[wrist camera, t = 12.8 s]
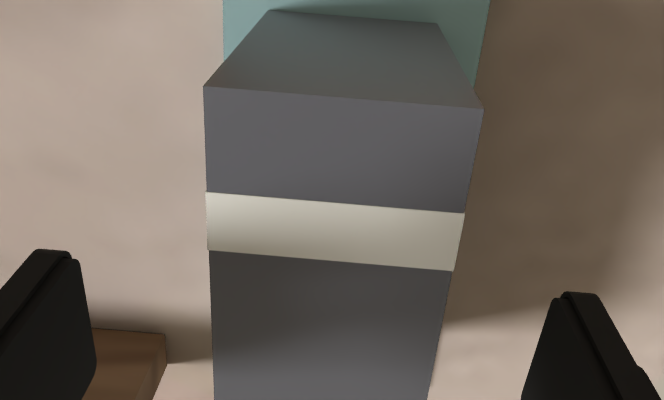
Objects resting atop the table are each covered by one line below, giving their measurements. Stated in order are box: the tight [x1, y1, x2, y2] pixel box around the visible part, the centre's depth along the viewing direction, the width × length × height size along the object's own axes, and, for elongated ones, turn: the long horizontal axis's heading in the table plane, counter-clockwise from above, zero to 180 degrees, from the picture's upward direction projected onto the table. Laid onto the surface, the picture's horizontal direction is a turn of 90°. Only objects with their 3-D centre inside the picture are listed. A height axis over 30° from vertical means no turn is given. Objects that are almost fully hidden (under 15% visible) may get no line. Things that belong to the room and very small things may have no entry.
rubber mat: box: [223, 0, 490, 89], centre depth 18 cm, size 16×7×1 cm, turn 176°
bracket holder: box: [82, 328, 167, 400], centre depth 17 cm, size 16×7×4 cm, turn 176°
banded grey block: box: [203, 10, 484, 400], centre depth 15 cm, size 11×4×7 cm, turn 176°
